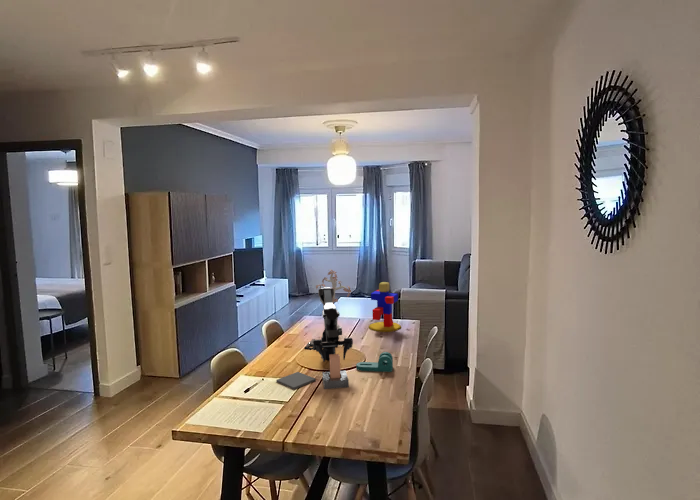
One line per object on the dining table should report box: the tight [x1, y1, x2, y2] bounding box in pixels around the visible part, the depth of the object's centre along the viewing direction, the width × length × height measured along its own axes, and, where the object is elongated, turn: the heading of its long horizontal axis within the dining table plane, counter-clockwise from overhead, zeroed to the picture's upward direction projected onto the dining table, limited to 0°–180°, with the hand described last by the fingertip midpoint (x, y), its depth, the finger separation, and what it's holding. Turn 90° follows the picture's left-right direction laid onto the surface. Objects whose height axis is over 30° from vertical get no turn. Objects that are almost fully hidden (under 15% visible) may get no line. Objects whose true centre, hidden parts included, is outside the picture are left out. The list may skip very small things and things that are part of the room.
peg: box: [329, 353, 341, 379], centre depth 199 cm, size 4×4×13 cm
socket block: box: [321, 370, 350, 390], centre depth 200 cm, size 11×11×4 cm
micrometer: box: [304, 338, 316, 351], centre depth 255 cm, size 15×7×2 cm, turn 164°
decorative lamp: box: [315, 269, 353, 330], centre depth 279 cm, size 28×24×40 cm
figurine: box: [368, 281, 402, 333], centre depth 287 cm, size 22×22×30 cm
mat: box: [275, 371, 317, 390], centre depth 203 cm, size 13×13×1 cm
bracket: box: [355, 351, 394, 373], centre depth 216 cm, size 18×7×8 cm, turn 81°
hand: (334, 360), depth 201 cm, fingers open, 9 cm apart
